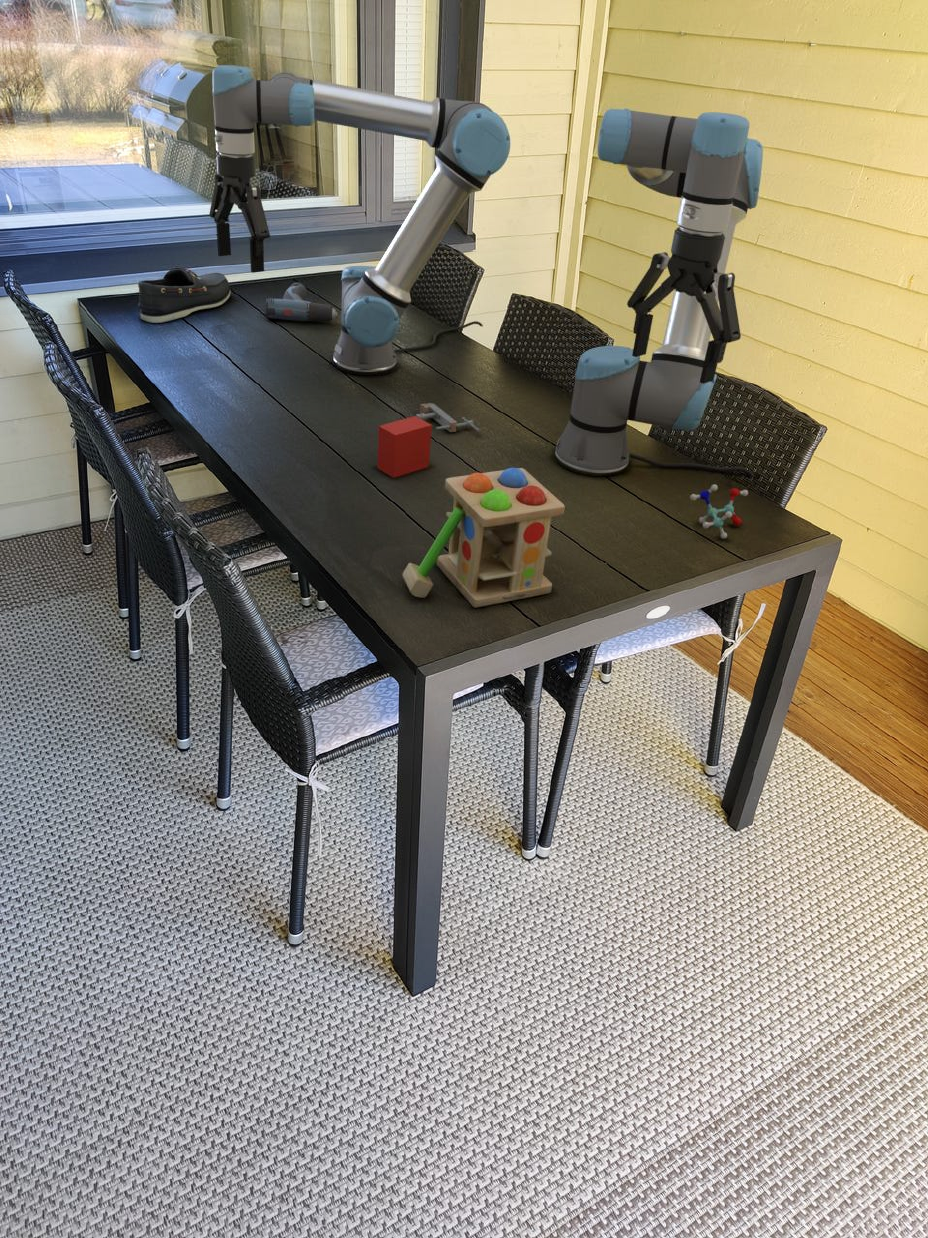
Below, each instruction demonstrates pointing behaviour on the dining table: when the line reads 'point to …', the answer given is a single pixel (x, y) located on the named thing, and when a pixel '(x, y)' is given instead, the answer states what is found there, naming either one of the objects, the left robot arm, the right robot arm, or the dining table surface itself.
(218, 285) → the boat shoe
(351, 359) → the left robot arm
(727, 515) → the molecular model
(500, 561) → the pounding bench toy
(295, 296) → the power drill
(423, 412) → the clamp
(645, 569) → the dining table surface
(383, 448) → the block
